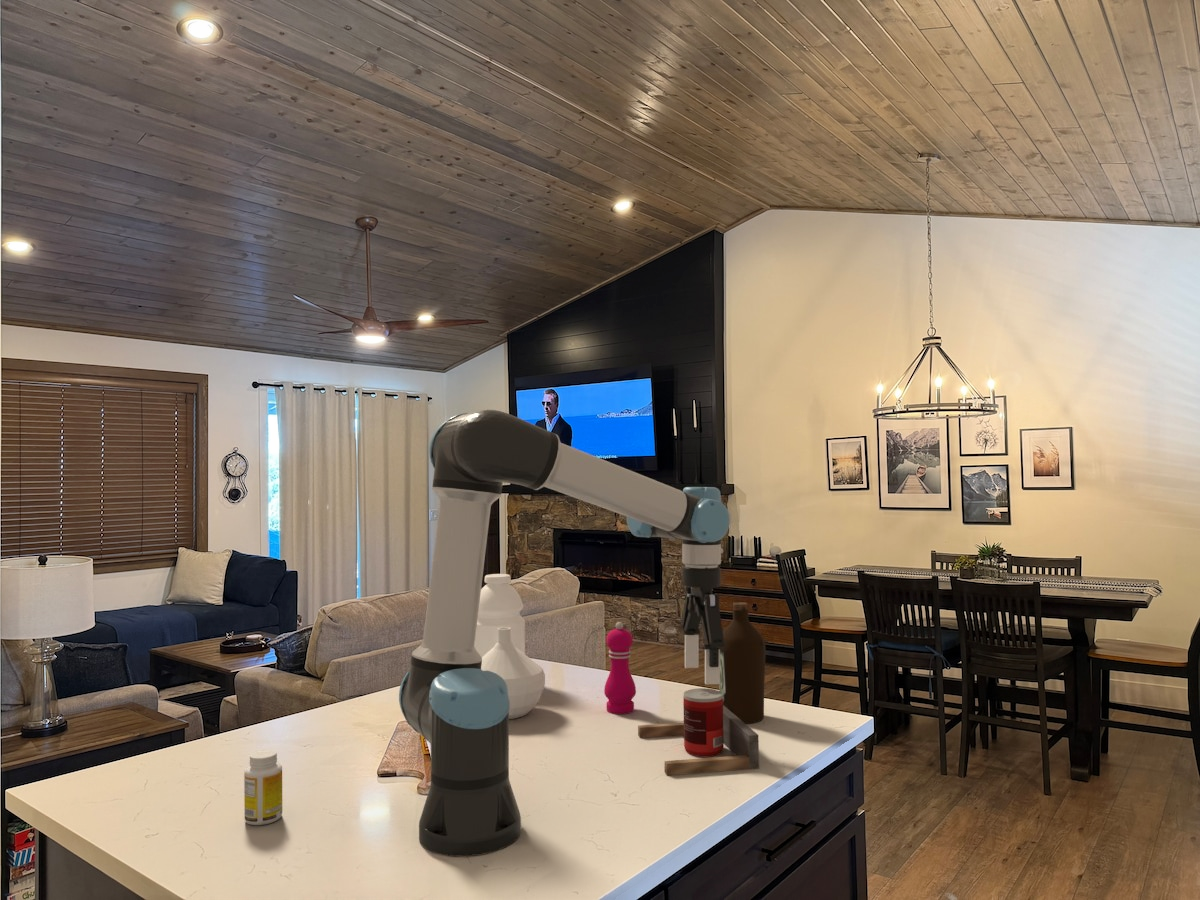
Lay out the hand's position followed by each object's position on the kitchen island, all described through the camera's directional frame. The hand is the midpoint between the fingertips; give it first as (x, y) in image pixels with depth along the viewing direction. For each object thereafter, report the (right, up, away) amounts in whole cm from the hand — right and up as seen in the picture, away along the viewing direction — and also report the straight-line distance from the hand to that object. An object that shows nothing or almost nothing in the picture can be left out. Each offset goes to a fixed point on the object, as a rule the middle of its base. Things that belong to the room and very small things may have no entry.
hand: (701, 675), depth 162 cm
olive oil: (+11, -15, +21) cm, 28 cm away
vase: (-41, -16, +26) cm, 51 cm away
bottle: (-46, -17, +51) cm, 71 cm away
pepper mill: (-15, -16, +27) cm, 35 cm away
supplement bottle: (-73, -15, -31) cm, 80 cm away
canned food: (0, -15, 0) cm, 15 cm away
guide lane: (-2, -14, -1) cm, 15 cm away
